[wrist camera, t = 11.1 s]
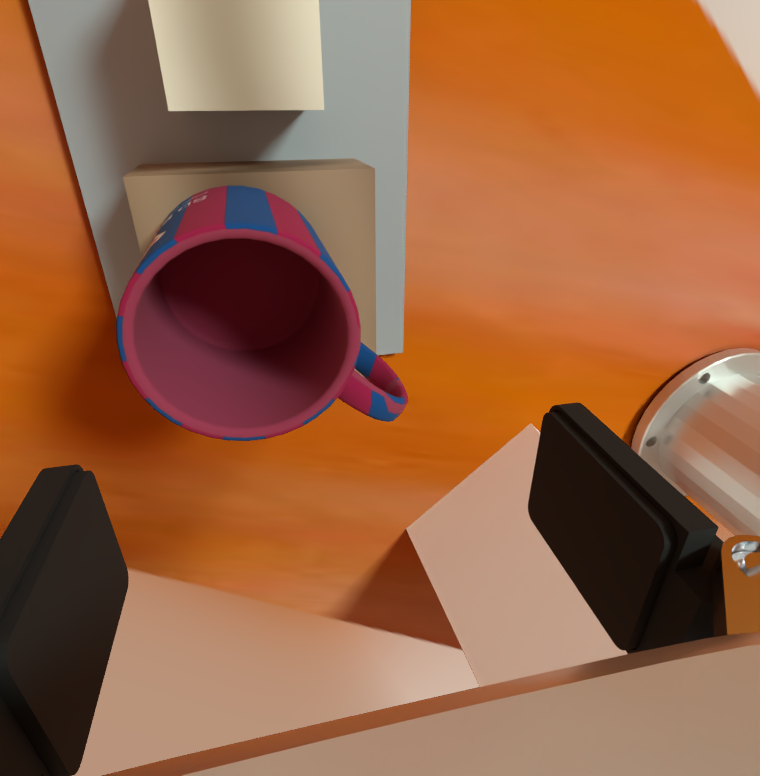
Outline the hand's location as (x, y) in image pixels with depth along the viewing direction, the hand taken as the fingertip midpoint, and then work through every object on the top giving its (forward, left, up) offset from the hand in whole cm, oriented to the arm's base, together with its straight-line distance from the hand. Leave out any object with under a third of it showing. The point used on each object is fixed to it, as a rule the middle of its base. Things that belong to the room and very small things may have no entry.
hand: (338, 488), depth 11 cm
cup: (0, 0, -13) cm, 13 cm away
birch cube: (+1, -9, -16) cm, 19 cm away
